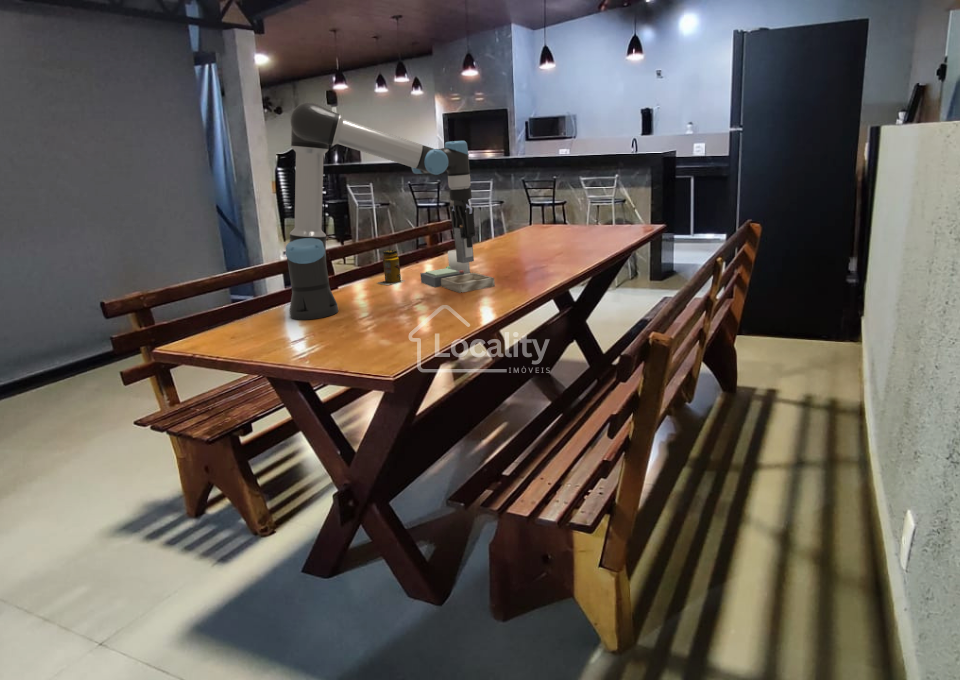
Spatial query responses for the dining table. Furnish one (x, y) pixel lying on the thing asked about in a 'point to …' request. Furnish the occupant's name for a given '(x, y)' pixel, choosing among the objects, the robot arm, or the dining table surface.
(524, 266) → the dining table surface
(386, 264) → the condiment
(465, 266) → the white bottle
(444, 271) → the checker pad
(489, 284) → the trough
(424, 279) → the checker base
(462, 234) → the cell
